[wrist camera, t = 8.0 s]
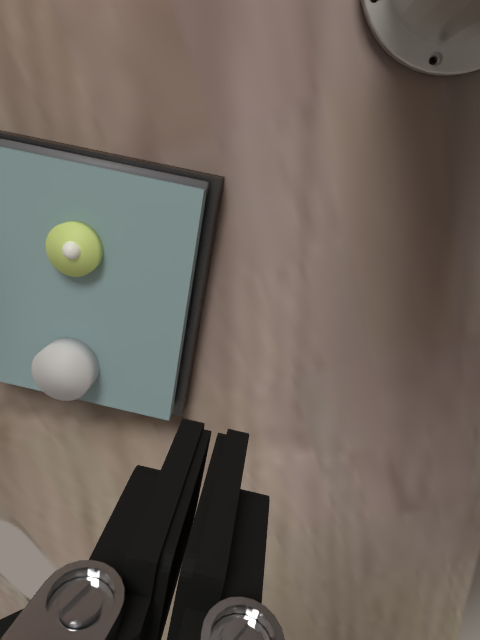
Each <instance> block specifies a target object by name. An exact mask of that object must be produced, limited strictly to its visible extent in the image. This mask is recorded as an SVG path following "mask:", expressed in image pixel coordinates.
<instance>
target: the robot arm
mask: <svg viewBox="0 0 480 640" xmlns="http://www.w3.org/2000/svg"><path fill="white" fill-rule="evenodd" d="M360 1H361V4H362V8H363V12H364V15H365V19H366V21H367V23H368V25H369V28H370V30H371V32H372V34H373V36H374V37H375V39H376V40H377V41H378V43H379V44H380V45H381V47H382V48H383V49H384V50H385V52H387V53H388V54H389V55H390V56H391V57H392V58H394V59H395V60H396V61H397V62H398V63H400V64H402V65H404V66H406V67H408V68H410V69H412V70H414V71H417V72H421V73H425V74H429V75H436V76H453V75H459V74H465V73H470V72H473V71H476V70H479V69H480V0H378V1H377V2H376V3H372V2H371V1H370V0H360ZM430 57H434V58H435V60H436V61H435V64H434V65H431V64H430V63H429V59H430ZM210 437H211V431H209V430H204V423H201V422H196V421H192V420H188V419H182V421H181V423H180V426H179V428H178V431H177V433H176V435H175V438H174V440H173V442H172V445H171V447H170V450H169V452H168V454H167V457H166V459H165V462H164V464H163V466H162V469H161V470H157V469H153V468H148V467H144V466H140V465H138V466H136V468H135V469H134V471H133V473H132V475H131V477H130V479H129V481H128V483H127V485H126V487H125V489H124V491H123V493H122V495H121V497H120V499H119V501H118V503H117V505H116V507H115V509H114V511H113V513H112V515H111V517H110V519H109V521H108V523H107V525H106V527H105V529H104V531H103V533H102V535H101V537H100V539H99V541H98V543H97V545H96V547H95V549H94V551H93V553H92V555H91V557H90V559H89V560H79V561H76V562H73V563H70V564H67V565H65V566H63V567H61V568H60V569H58V570H56V571H55V572H54V573H53V574H52V575H51V576H50V577H49V578H48V579H47V580H46V581H45V582H44V583H43V585H42V586H41V587H40V589H39V590H38V591H37V592H36V594H35V595H34V596H33V598H32V599H31V600H30V601H29V603H28V604H27V605H26V607H25V608H24V609H22V610H20V611H18V612H16V613H13V614H11V615H9V616H7V617H5V618H3V619H1V620H0V640H161V638H162V635H163V631H164V627H165V624H166V620H167V616H168V613H169V609H170V605H171V602H172V598H173V595H174V591H175V587H176V584H177V580H178V576H179V573H180V576H179V580H178V585H177V591H176V596H175V601H174V606H173V611H172V616H171V622H170V627H169V632H168V637H167V640H285V639H284V635H283V632H282V628H281V626H280V624H279V622H278V621H277V619H276V617H275V616H274V615H273V614H272V613H271V612H270V611H269V610H268V609H267V608H266V606H264V605H262V604H261V603H262V590H263V577H264V564H265V552H266V539H267V526H268V513H269V496H267V495H263V494H259V493H254V492H250V491H246V490H242V489H240V487H241V481H242V475H243V469H244V463H245V457H246V451H247V445H248V439H249V434H248V433H244V432H240V431H235V430H231V429H228V431H227V435H226V434H222V433H218V435H217V438H216V442H215V446H214V449H213V453H212V457H211V460H210V464H209V467H208V471H207V475H206V478H205V482H204V486H203V489H202V493H201V497H200V500H199V504H198V507H197V502H198V497H199V492H200V487H201V482H202V477H203V472H204V467H205V462H206V457H207V452H208V447H209V442H210ZM196 507H197V511H196ZM195 512H196V515H195ZM194 517H195V518H194ZM193 521H194V522H193ZM192 525H193V526H192ZM189 536H190V537H189ZM183 558H184V559H183ZM182 562H183V563H182ZM181 565H182V567H181ZM180 569H181V571H180Z"/></svg>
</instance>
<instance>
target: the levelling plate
mask: <svg viewBox="0 0 480 640" xmlns="http://www.w3.org/2000/svg"><path fill="white" fill-rule="evenodd" d="M208 188H209V182H207V181H202V180H198V179H193V178H188V177H183V176H178V175H174V174H169V173H164V172H159V171H154V170H150V169H145V168H140V167H135V166H131V165H126V164H121V163H116V162H111V161H107V160H102V159H97V158H92V157H87V156H83V155H78V154H73V153H68V152H63V151H59V150H54V149H49V148H44V147H39V146H35V145H30V144H25V143H20V142H15V141H11V140H6V139H1V138H0V382H4V383H8V384H12V385H17V386H21V387H25V388H30V389H34V390H38V391H43V392H44V393H45V394H46V395H48V396H50V397H52V398H54V399H57V400H61V401H72V400H76V399H77V400H82V401H86V402H90V403H95V404H99V405H103V406H107V407H112V408H116V409H120V410H125V411H129V412H133V413H138V414H142V415H146V416H151V417H155V418H159V419H164V420H168V421H169V419H170V417H171V415H172V413H173V407H174V400H175V394H176V387H177V381H178V374H179V368H180V361H181V355H182V349H183V342H184V336H185V329H186V323H187V316H188V310H189V303H190V297H191V290H192V284H193V277H194V271H195V265H196V258H197V252H198V245H199V239H200V232H201V226H202V219H203V213H204V206H205V200H206V195H207V193H208Z"/></svg>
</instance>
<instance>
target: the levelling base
mask: <svg viewBox="0 0 480 640" xmlns="http://www.w3.org/2000/svg"><path fill="white" fill-rule="evenodd" d="M0 138H1V139H6V140H11V141H15V142H20V143H25V144H30V145H35V146H39V147H44V148H49V149H54V150H59V151H63V152H68V153H73V154H78V155H83V156H87V157H92V158H97V159H102V160H107V161H111V162H116V163H121V164H126V165H131V166H135V167H140V168H145V169H150V170H154V171H159V172H164V173H169V174H174V175H178V176H183V177H188V178H193V179H198V180H202V181H207V182H209V188H208V193H207V195H206V200H205V206H204V213H203V219H202V226H201V232H200V239H199V245H198V252H197V258H196V265H195V271H194V277H193V284H192V290H191V297H190V303H189V310H188V316H187V323H186V329H185V336H184V342H183V349H182V355H181V361H180V368H179V374H178V381H177V387H176V394H175V400H174V407H173V413H172V415H173V416H178V417H181V416H182V414H183V412H184V409H185V407H186V404H187V398H188V392H189V386H190V380H191V374H192V368H193V362H194V356H195V350H196V344H197V338H198V332H199V326H200V320H201V314H202V308H203V302H204V296H205V290H206V284H207V278H208V272H209V266H210V260H211V254H212V248H213V242H214V236H215V230H216V224H217V218H218V212H219V206H220V200H221V194H222V188H223V182H224V177H223V176H218V175H213V174H208V173H203V172H199V171H194V170H189V169H184V168H179V167H175V166H170V165H165V164H160V163H155V162H150V161H146V160H141V159H136V158H131V157H126V156H122V155H117V154H112V153H107V152H102V151H98V150H93V149H88V148H83V147H78V146H74V145H69V144H64V143H59V142H54V141H49V140H45V139H40V138H35V137H30V136H25V135H21V134H16V133H11V132H6V131H1V130H0Z"/></svg>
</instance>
